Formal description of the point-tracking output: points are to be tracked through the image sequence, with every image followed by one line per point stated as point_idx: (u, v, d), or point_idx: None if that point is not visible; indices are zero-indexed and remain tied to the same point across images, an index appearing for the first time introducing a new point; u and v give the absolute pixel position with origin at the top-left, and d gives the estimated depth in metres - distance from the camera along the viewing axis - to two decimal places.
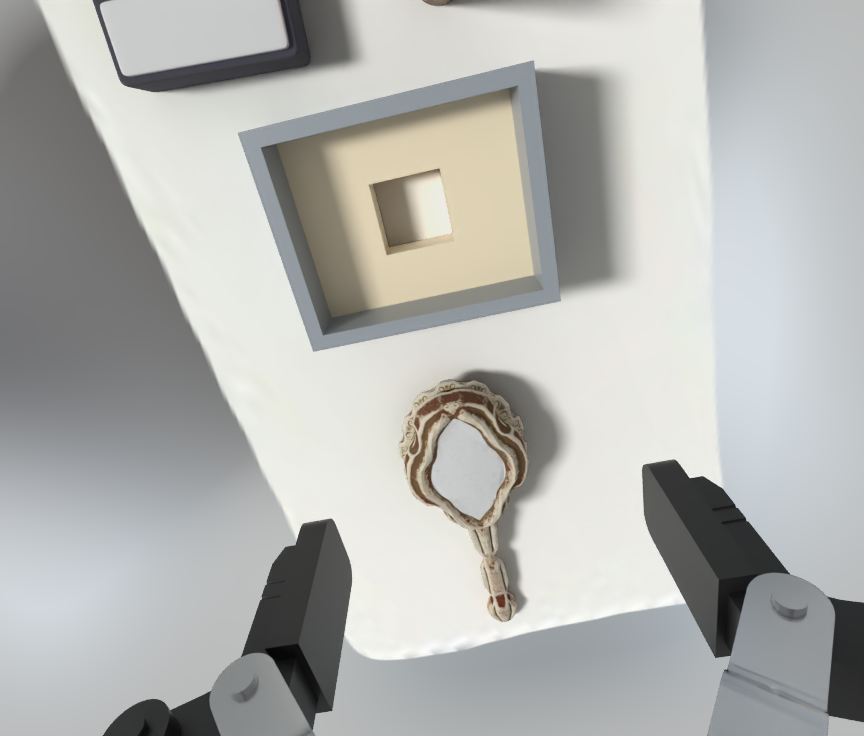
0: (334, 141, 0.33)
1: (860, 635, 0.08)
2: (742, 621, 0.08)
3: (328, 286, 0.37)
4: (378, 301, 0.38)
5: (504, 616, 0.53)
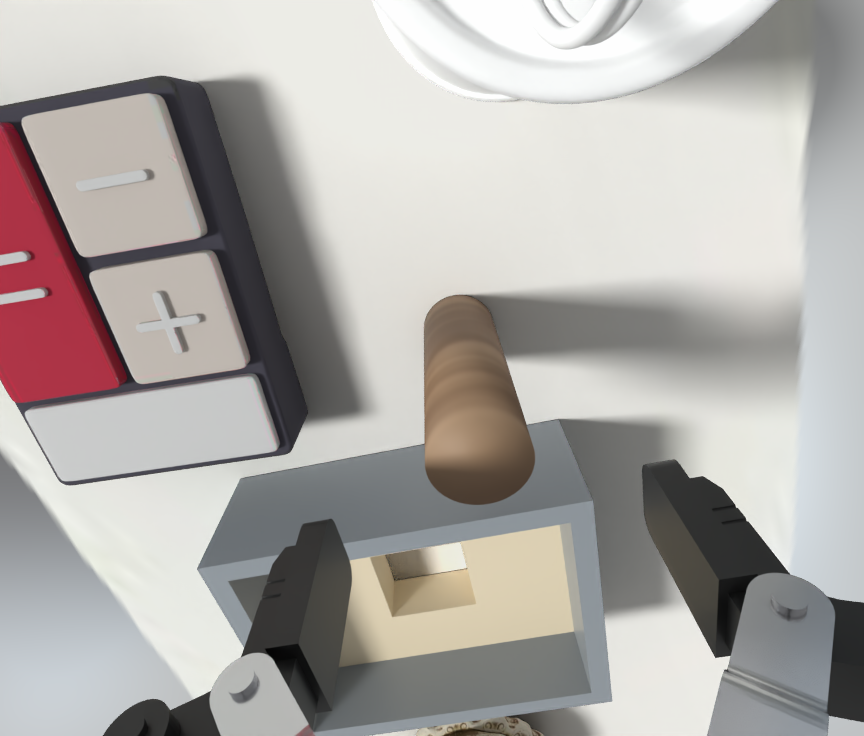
0: None
1: (860, 635, 0.08)
2: (742, 621, 0.08)
3: None
4: (382, 655, 0.31)
5: None
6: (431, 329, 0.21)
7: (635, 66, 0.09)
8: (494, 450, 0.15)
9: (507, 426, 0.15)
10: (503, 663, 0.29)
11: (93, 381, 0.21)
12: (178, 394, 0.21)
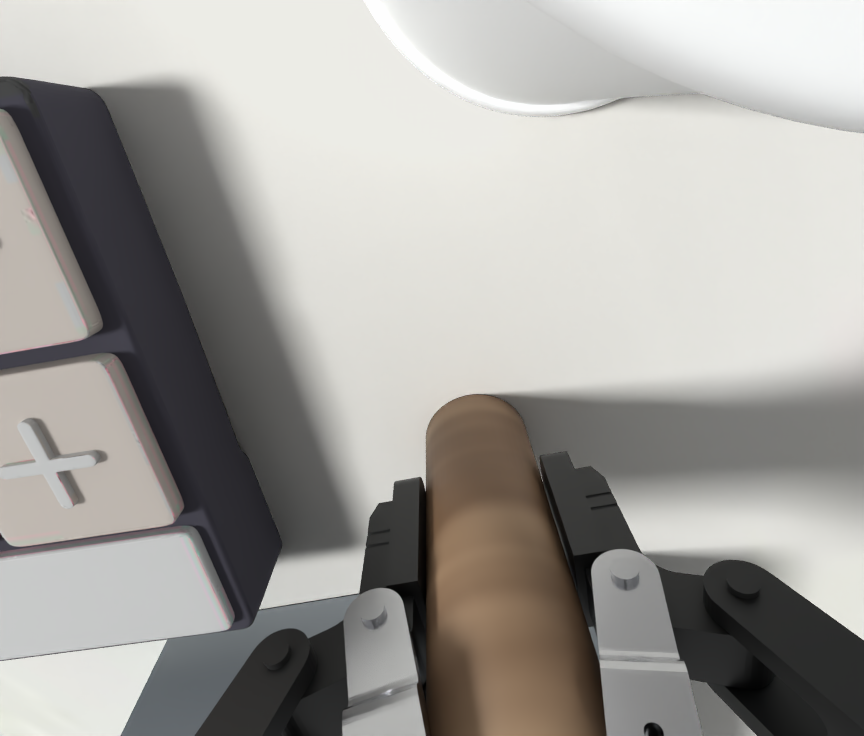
0: None
1: (683, 602, 0.09)
2: (596, 605, 0.09)
3: None
4: None
5: None
6: (437, 458, 0.14)
7: None
8: None
9: None
10: None
11: None
12: (77, 558, 0.14)
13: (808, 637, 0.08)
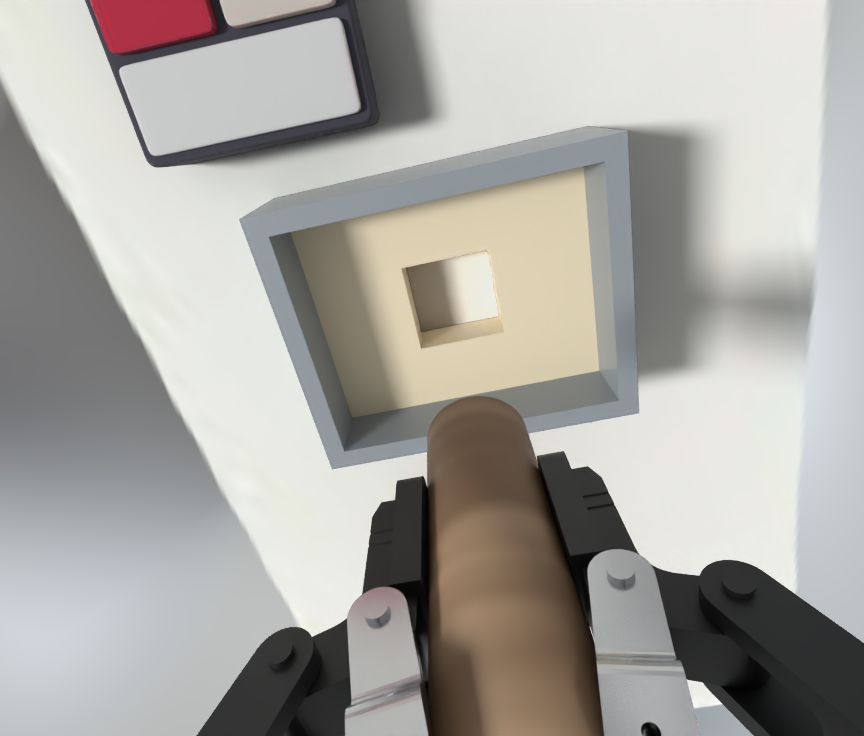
0: (360, 218, 0.26)
1: (679, 602, 0.09)
2: (593, 605, 0.09)
3: (349, 383, 0.31)
4: (409, 399, 0.31)
5: None
6: (438, 460, 0.14)
7: None
8: None
9: None
10: (530, 394, 0.30)
11: (187, 23, 0.22)
12: (266, 41, 0.22)
13: (803, 636, 0.08)
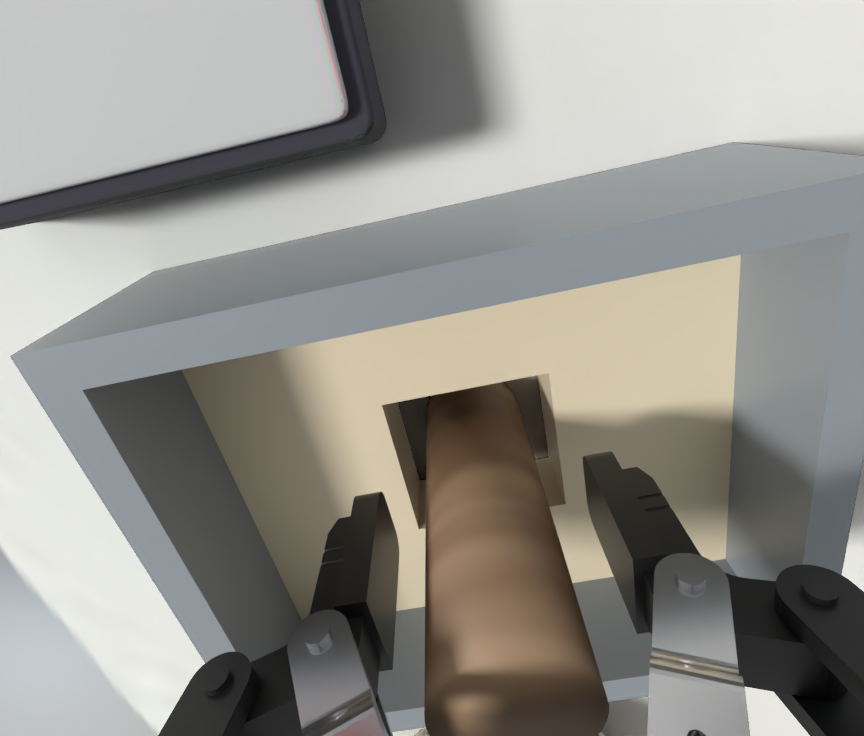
0: None
1: (753, 608, 0.09)
2: (655, 605, 0.09)
3: (296, 579, 0.18)
4: (399, 600, 0.18)
5: None
6: (436, 429, 0.15)
7: None
8: (540, 702, 0.09)
9: (565, 671, 0.09)
10: (610, 610, 0.17)
11: None
12: None
13: None
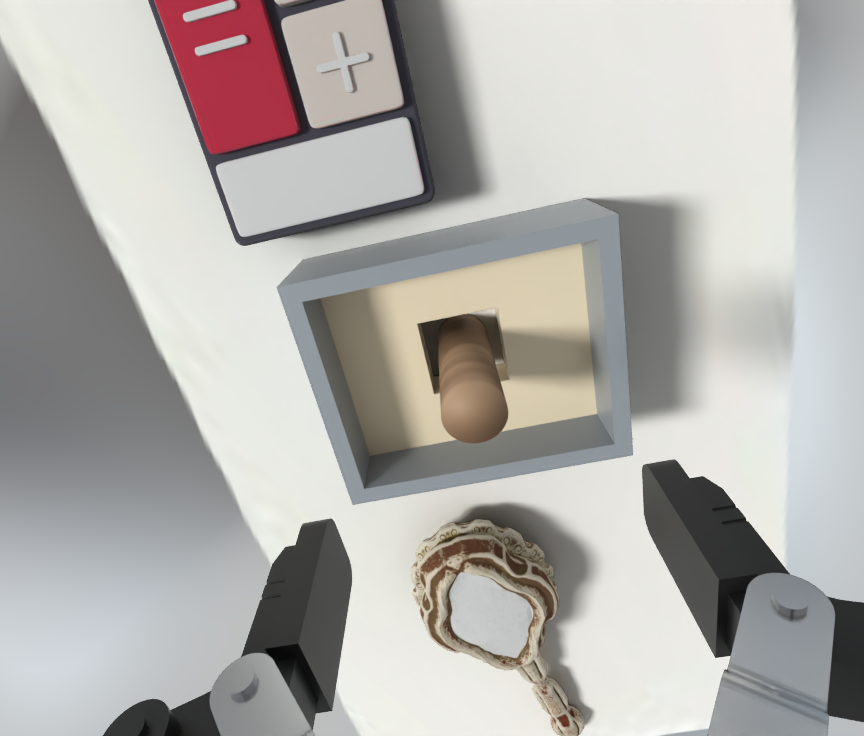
0: None
1: (860, 635, 0.08)
2: (742, 621, 0.08)
3: (367, 425, 0.34)
4: (422, 439, 0.34)
5: (571, 735, 0.49)
6: (443, 337, 0.31)
7: None
8: (482, 407, 0.24)
9: (491, 391, 0.24)
10: (533, 436, 0.33)
11: (276, 127, 0.25)
12: (344, 139, 0.26)
13: None
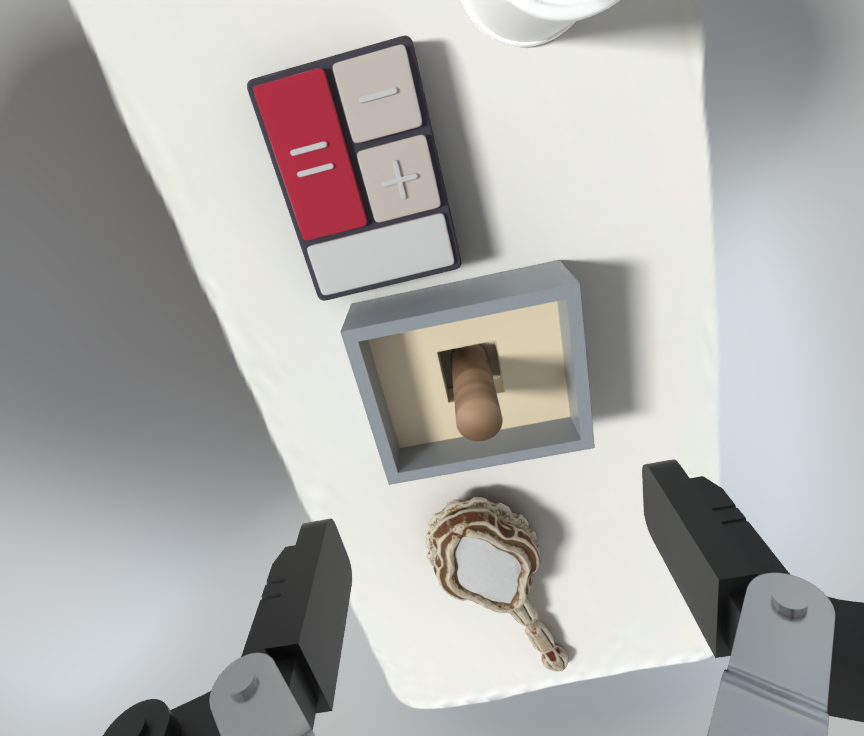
0: None
1: (860, 635, 0.08)
2: (742, 621, 0.08)
3: (398, 425, 0.45)
4: (439, 436, 0.45)
5: (558, 667, 0.61)
6: (455, 361, 0.42)
7: (588, 5, 0.24)
8: (485, 416, 0.36)
9: (490, 406, 0.35)
10: (522, 434, 0.44)
11: (351, 222, 0.36)
12: (398, 228, 0.36)
13: None
